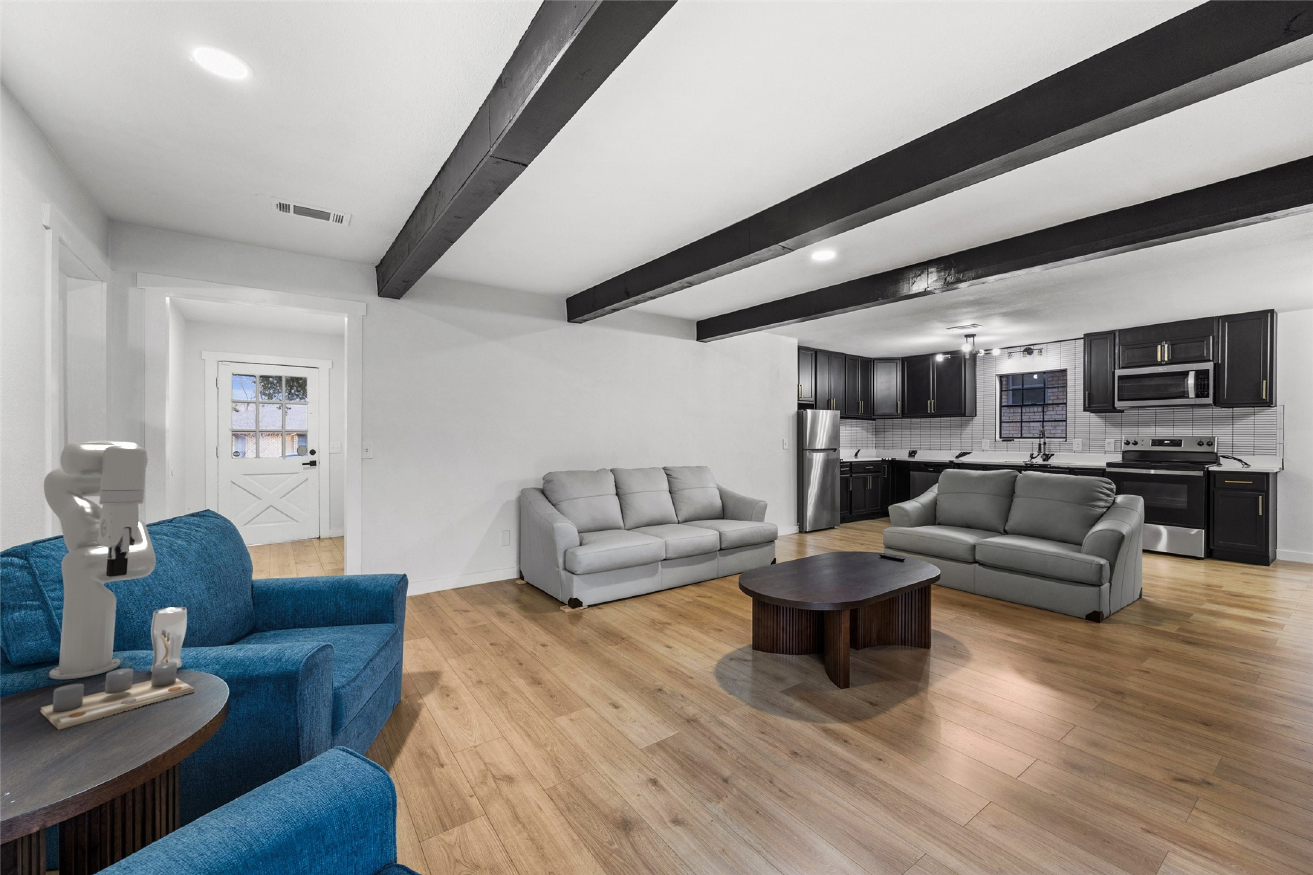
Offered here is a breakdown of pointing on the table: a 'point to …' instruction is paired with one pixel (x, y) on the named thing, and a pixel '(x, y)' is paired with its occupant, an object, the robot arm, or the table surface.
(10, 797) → the table surface
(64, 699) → the button
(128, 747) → the table surface
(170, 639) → the beer glass
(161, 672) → the button
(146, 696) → the button board
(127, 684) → the button middle
